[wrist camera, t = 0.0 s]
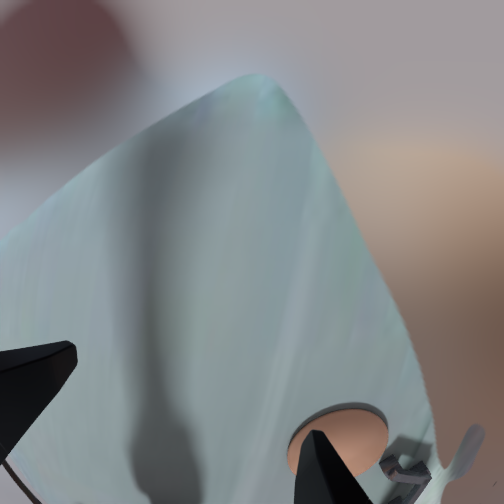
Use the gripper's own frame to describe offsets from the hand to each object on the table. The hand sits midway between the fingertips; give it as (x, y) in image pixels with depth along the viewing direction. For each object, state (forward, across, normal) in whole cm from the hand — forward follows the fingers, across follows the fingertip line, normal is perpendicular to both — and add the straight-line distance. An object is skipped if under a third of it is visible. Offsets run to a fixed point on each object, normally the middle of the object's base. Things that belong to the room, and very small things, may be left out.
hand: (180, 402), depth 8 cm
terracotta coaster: (+12, -14, +15) cm, 24 cm away
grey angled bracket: (+11, -26, +20) cm, 35 cm away
